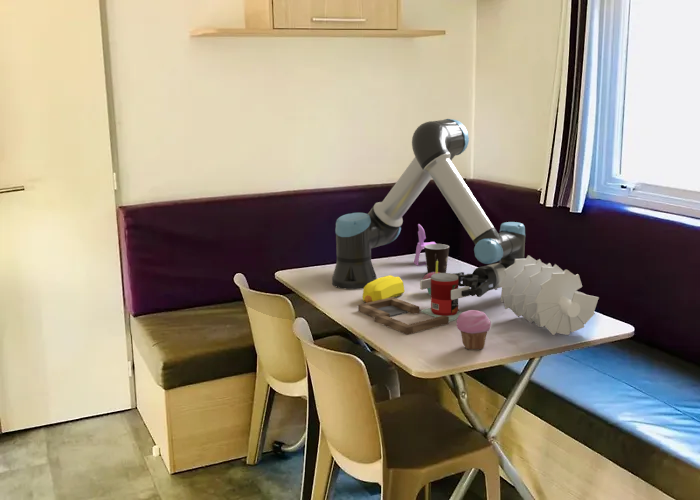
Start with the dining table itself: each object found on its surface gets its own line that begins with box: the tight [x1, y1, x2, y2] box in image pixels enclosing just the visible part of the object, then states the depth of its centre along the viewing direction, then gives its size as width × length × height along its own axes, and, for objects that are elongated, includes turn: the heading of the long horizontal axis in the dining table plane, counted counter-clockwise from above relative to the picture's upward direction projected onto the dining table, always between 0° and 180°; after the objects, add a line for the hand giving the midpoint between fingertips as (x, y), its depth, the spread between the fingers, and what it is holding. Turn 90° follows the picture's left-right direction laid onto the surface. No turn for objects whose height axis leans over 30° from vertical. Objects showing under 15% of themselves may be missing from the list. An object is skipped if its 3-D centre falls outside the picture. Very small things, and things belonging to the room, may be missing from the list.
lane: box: [357, 297, 450, 336], centre depth 227 cm, size 26×15×2 cm, turn 34°
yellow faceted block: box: [362, 274, 405, 303], centre depth 246 cm, size 18×7×8 cm
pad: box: [420, 307, 464, 322], centre depth 229 cm, size 12×8×1 cm, turn 34°
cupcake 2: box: [455, 309, 492, 351], centre depth 200 cm, size 9×9×10 cm
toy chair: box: [413, 223, 437, 267], centre depth 288 cm, size 8×9×15 cm
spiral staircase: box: [499, 254, 600, 336], centre depth 215 cm, size 18×18×25 cm
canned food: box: [430, 272, 459, 316], centre depth 228 cm, size 8×8×11 cm
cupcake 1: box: [422, 259, 439, 296], centre depth 249 cm, size 9×8×12 cm
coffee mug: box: [424, 243, 450, 274], centre depth 272 cm, size 12×9×10 cm
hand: (435, 289), depth 226 cm, fingers open, 13 cm apart
